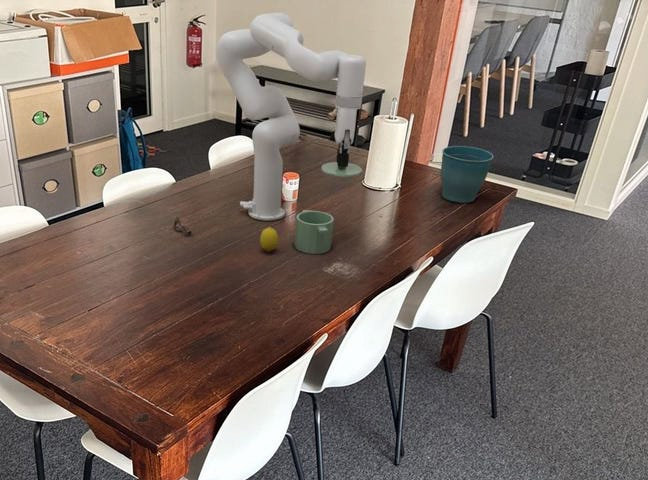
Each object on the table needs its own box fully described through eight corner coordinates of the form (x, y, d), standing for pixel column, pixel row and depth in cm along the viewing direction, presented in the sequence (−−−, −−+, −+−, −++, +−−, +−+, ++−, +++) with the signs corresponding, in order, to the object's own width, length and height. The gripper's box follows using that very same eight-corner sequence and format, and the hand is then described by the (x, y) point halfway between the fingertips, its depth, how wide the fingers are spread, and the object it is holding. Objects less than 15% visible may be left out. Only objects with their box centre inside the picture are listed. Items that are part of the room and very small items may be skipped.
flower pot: (489, 196, 259) (499, 151, 249) (475, 210, 246) (485, 163, 237) (443, 186, 267) (452, 143, 257) (427, 199, 254) (435, 154, 244)
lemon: (258, 247, 212) (259, 223, 208) (276, 247, 213) (277, 223, 208) (260, 255, 207) (261, 230, 203) (278, 255, 208) (279, 230, 204)
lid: (328, 179, 202) (330, 158, 199) (315, 166, 212) (317, 146, 209) (367, 177, 205) (370, 157, 202) (353, 165, 215) (355, 145, 212)
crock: (304, 258, 206) (306, 229, 201) (287, 237, 220) (289, 209, 215) (339, 255, 209) (342, 226, 204) (320, 234, 223) (323, 206, 217)
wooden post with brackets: (174, 224, 223) (177, 213, 220) (188, 240, 221) (192, 230, 217) (169, 225, 222) (172, 215, 219) (184, 241, 220) (187, 231, 216)
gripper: (333, 94, 204) (327, 156, 214) (337, 107, 191) (331, 172, 201) (358, 95, 204) (351, 157, 214) (364, 108, 191) (357, 173, 201)
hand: (342, 164), depth 207 cm, fingers closed on lid, 2 cm apart
